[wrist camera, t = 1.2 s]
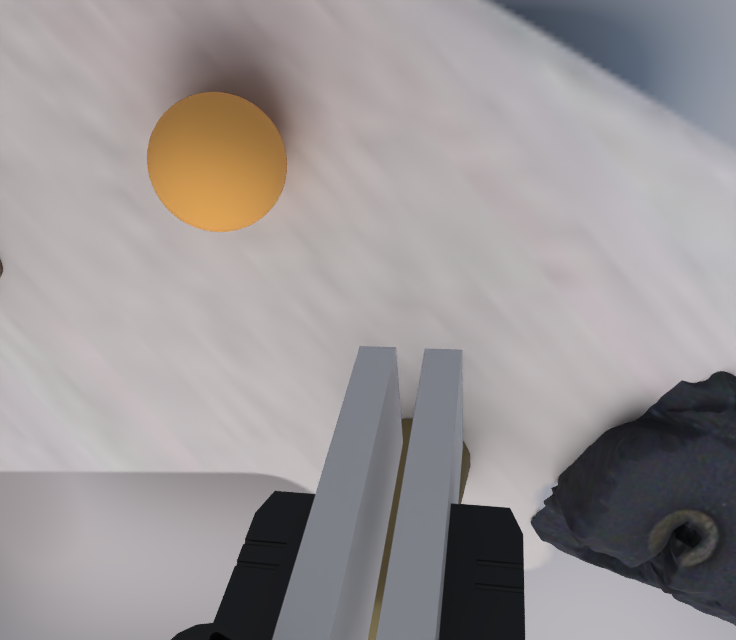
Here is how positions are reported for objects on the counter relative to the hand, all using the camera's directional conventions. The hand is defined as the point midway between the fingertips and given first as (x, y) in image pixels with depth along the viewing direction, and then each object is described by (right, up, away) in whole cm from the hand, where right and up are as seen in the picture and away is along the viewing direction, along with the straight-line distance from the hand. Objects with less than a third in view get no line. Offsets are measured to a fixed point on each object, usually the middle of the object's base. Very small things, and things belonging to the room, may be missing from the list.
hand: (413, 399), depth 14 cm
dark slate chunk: (+21, -9, +24) cm, 33 cm away
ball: (-7, +8, +13) cm, 17 cm away
